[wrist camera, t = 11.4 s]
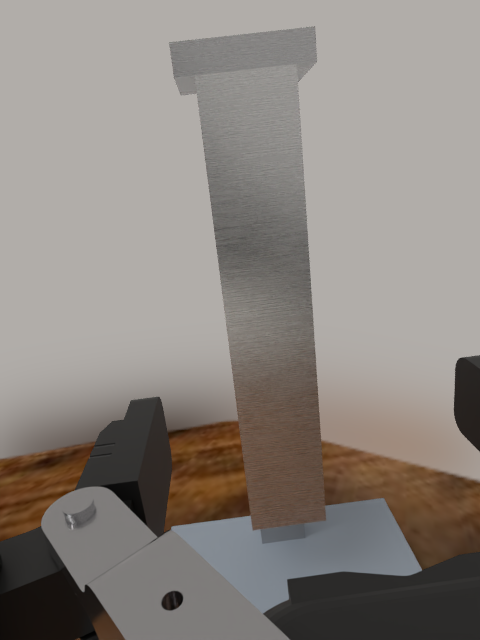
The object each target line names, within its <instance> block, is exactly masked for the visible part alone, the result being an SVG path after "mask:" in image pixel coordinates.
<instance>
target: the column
mask: <svg viewBox="0 0 480 640" xmlns="http://www.w3.org/2000/svg"><path fill="white" fill-rule="evenodd" d="M169 45H170V51H171V59H172V66H173V74H174V79H175V81H176V84H177V87H178V89H179V92H180V94H181V95H188V94H197V98H198V106H199V114H200V121H201V129H202V137H203V145H204V152H205V161H206V169H207V176H208V184H209V192H210V200H211V208H212V216H213V224H214V231H215V239H216V247H217V254H218V263H219V271H220V277H221V286H222V294H223V302H224V310H225V317H226V326H227V333H228V341H229V349H230V357H231V365H232V373H233V380H234V388H235V396H236V404H237V412H238V420H239V428H240V435H241V443H242V451H243V459H244V467H245V475H246V483H247V490H248V498H249V506H250V514H251V522H252V530H260V529H268V528H275V527H282V526H290V525H297V524H304V523H312V522H319V521H326V510H325V495H324V479H323V464H322V448H321V433H320V417H319V404H318V403H319V402H318V387H317V372H316V357H315V341H314V325H313V310H312V294H311V278H310V263H309V247H308V232H307V218H306V217H307V216H306V201H305V186H304V172H303V171H304V170H303V155H302V139H301V124H300V109H299V94H298V82H299V81H300V79H301V78H302V77H303V76H304V75H305V74H306V73H307V72H308V71H309V70H310V69H311V68H312V66H313V65H314V64H315V63H316V62H317V54H316V35H315V27H306V28H297V29H289V30H278V31H270V32H260V33H252V34H242V35H233V36H224V37H215V38H206V39H197V40H188V41H179V42H170V43H169Z"/></svg>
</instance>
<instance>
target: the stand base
mask: <svg viewBox="0 0 480 640" xmlns="http://www.w3.org/2000/svg"><path fill="white" fill-rule="evenodd" d="M325 510H326V521H319V522H312V523H304V524H297V525H290V526H282V527H275V528H268V529H260V530H252V522H251V516H246V517H239V518H232V519H224V520H217V521H209V522H202V523H195V524H187V525H180V526H172V528H171V530H172V531H174V532H176V533H177V534H178V535H179V536H180V537H182V538H183V539H184V540H185V541H186V542H187V543H188V544H189V545H190V546H191V547H192V548H193V549H194V550H195V551H196V552H197V553H199V554H200V555H201V556H202V557H203V558H204V559H205V560H206V561H207V562H208V563H209V564H210V565H211V566H212V567H213V568H215V569H216V570H217V571H218V572H219V573H220V574H221V575H222V576H223V577H224V578H225V579H226V580H227V581H228V582H229V583H230V584H232V585H233V586H234V587H235V588H236V589H237V590H238V591H239V592H240V593H241V594H242V595H243V596H244V597H245V598H246V599H248V600H249V601H250V602H251V603H252V604H253V605H254V606H255V607H256V608H257V609H258V610H259V611H260V612H261V613H262V614H263V613H264V612H266V611H267V610H269V609H271V608H272V607H274V606H276V605H278V604H280V603H282V602H284V601H286V600H289V594H288V585H287V579H293V578H300V577H307V576H314V575H321V574H328V573H335V572H342V571H346V572H359V573H372V574H384V575H397V576H408V575H412V574H415V573H417V572H420V571H422V569H421V567H420V565H419V563H418V561H417V560H416V558H415V556H414V554H413V552H412V550H411V548H410V546H409V545H408V543H407V541H406V539H405V537H404V535H403V533H402V532H401V530H400V528H399V526H398V524H397V522H396V520H395V518H394V517H393V515H392V513H391V511H390V509H389V507H388V505H387V503H386V502H385V500H384V498H380V499H373V500H365V501H358V502H350V503H343V504H335V505H328V506H325Z"/></svg>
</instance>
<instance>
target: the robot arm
mask: <svg viewBox="0 0 480 640" xmlns="http://www.w3.org/2000/svg"><path fill="white" fill-rule="evenodd" d="M455 371H456V372H455V397H454V416H455V420H456V423H457V426H458V428H459V430H460V431H461V433H462V434H463V435H464V436H465V437H466V438H467V439H468V440H469V441H470V442H471V443H472V444H473V445H474V446H475V447H476V448H477V449H478V450H479V451H480V355H479V356H472V357H464V358H460V359H459V360H458V361H457V363H456V368H455ZM171 472H172V459H171V449H170V444H169V438H168V433H167V428H166V422H165V417H164V411H163V406H162V402H161V399H160V397H153V398H145V399H138V400H131V402H130V404H129V407H128V410H127V413H126V416H125V418H124V420H118V421H112V422H111V423H110V424H109V425H108V426H107V427H106V428H105V429H104V430H103V431H101V432H100V434H99V436H98V438H97V441H96V443H95V445H94V448H93V450H92V452H91V454H90V459H88V461H87V464H86V466H85V468H84V470H83V473H82V475H81V477H80V480H79V482H78V484H77V486H76V489H75V491H72V492H70V493H68V494H66V495H64V496H63V497H61V498H60V499H58V500H57V501H55V502H54V503H53V504H52V505H51V506H50V507H49V508H48V509H47V511H46V512H45V514H44V515H43V518H42V521H41V526H40V527H38V528H36V529H34V530H31V531H29V532H26V533H24V534H21V535H18V536H15V537H12V538H10V539H7V540H4V541H1V542H0V640H75V639H76V640H480V552H476V553H469V554H462V555H458V556H456V557H453V558H451V559H448V560H446V561H444V562H441V563H439V564H436V565H434V566H432V567H429V568H427V569H424V570H422V571H420V572H417V573H415V574H412V575H408V576H397V575H384V574H372V573H359V572H346V571H342V572H335V573H328V574H321V575H314V576H307V577H300V578H293V579H287V585H288V594H289V600H286V601H284V602H282V603H280V604H278V605H276V606H274V607H272V608H271V609H269V610H267V611H266V612H264V613H263V614H262V613H261V612H260V611H259V610H258V609H257V608H256V607H255V606H254V605H253V604H252V603H251V602H250V601H249V600H248V599H246V598H245V597H244V596H243V595H242V594H241V593H240V592H239V591H238V590H237V589H236V588H235V587H234V586H233V585H232V584H230V583H229V582H228V581H227V580H226V579H225V578H224V577H223V576H222V575H221V574H220V573H219V572H218V571H217V570H216V569H215V568H213V567H212V566H211V565H210V564H209V563H208V562H207V561H206V560H205V559H204V558H203V557H202V556H201V555H200V554H199V553H197V552H196V551H195V550H194V549H193V548H192V547H191V546H190V545H189V544H188V543H187V542H186V541H185V540H184V539H183V538H182V537H180V536H179V535H178V534H177V533H176V532H174V531H172V530H168V531H166V532H165V533H163V532H164V524H165V517H166V509H167V502H168V495H169V487H170V480H171Z"/></svg>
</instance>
